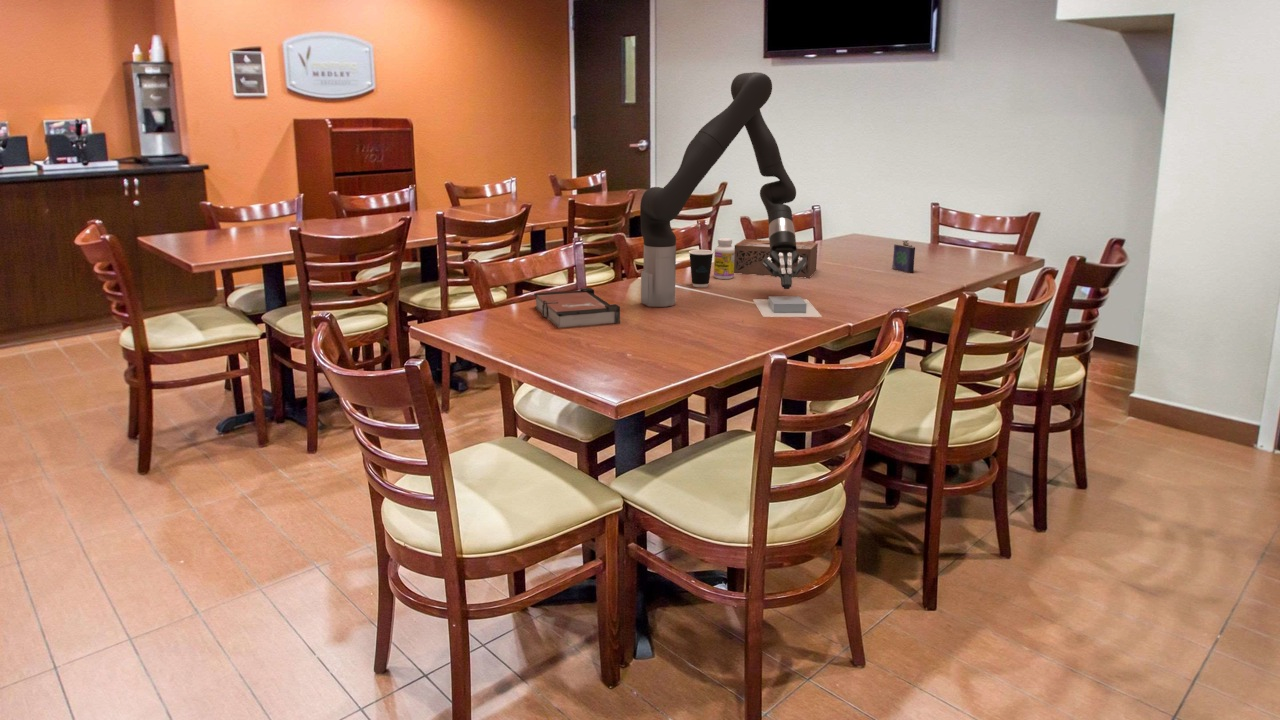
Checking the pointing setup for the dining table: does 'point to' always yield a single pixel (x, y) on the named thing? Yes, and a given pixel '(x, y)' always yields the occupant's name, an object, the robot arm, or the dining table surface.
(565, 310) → the book
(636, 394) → the dining table surface
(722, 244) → the supplement bottle
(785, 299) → the tile
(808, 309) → the board
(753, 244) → the tissue box cover
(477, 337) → the dining table surface
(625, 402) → the dining table surface
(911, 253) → the flask
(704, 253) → the dixie cup
